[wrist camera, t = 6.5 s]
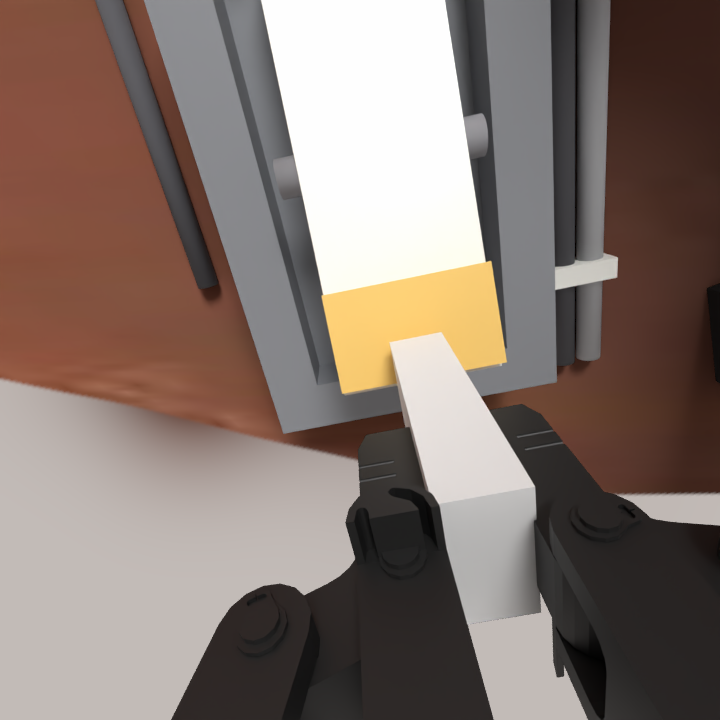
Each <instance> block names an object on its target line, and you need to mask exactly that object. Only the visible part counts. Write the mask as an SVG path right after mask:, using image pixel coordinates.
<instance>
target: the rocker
mask: <svg viewBox="0 0 720 720" xmlns="http://www.w3.org/2000/svg"><path fill="white" fill-rule="evenodd" d="M261 2H262V7H263V11H264V16H265V21H266V26H267V30H268V35H269V40H270V44H271V49H272V54H273V59H274V63H275V68H276V73H277V78H278V82H279V87H280V92H281V97H282V101H283V106H284V111H285V116H286V120H287V125H288V130H289V134H290V139H291V144H292V149H293V153H294V155H291V156H286V157H282V158H277V159H273V167H274V173H275V177H276V181H277V185H278V188H279V191H280V194H281V196H282V198H283V200H286V199H291V198H295V197H300V196H303V201H304V206H305V210H306V215H307V220H308V225H309V229H310V234H311V239H312V243H313V248H314V253H315V258H316V262H317V267H318V272H319V277H320V281H321V286H322V291H323V295H322V301H323V306H324V311H325V315H326V320H327V325H328V329H329V334H330V339H331V344H332V348H333V353H334V358H335V362H336V367H337V372H338V377H339V381H340V386H341V391H342V394H344V395H345V396H346V395H351V394H356V393H361V392H367V391H372V390H377V389H382V388H388V387H393V386H397V381H396V375H395V370H394V364H393V359H392V354H391V348H390V343H389V342H394V341H399V340H404V339H409V338H414V337H419V336H424V335H429V334H434V333H439V332H442V334H443V335H444V337H445V339H446V340H447V342H448V344H449V345H450V347H451V349H452V350H453V352H454V354H455V355H456V357H457V359H458V360H459V362H460V364H461V365H462V367H463V368H464V370H465V372H471V371H476V370H481V369H487V368H492V367H497V366H502V363H506V362H507V360H506V353H505V347H504V340H503V334H502V327H501V321H500V314H499V308H498V301H497V295H496V288H495V282H494V275H493V269H492V262H491V261H489V262H486V261H485V255H484V248H483V242H482V235H481V229H480V223H479V216H478V210H477V203H476V197H475V191H474V184H473V178H472V171H471V165H470V159H475V158H480V157H484V156H485V155H486V153H487V149H488V129H487V123H486V119H485V117H484V115H483V114H482V113H480V114H475V115H471V116H466V117H463V114H462V107H461V101H460V95H459V88H458V82H457V75H456V69H455V63H454V56H453V50H452V43H451V37H450V31H449V24H448V18H447V11H446V5H445V0H261Z"/></svg>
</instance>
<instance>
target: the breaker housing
mask: <svg viewBox="0 0 720 720" xmlns="http://www.w3.org/2000/svg"><path fill="white" fill-rule="evenodd" d="M144 2H145V5H146V8H147V11H148V14H149V17H150V21H151V24H152V27H153V30H154V33H155V36H156V39H157V42H158V45H159V48H160V52H161V55H162V58H163V61H164V64H165V67H166V70H167V73H168V76H169V79H170V83H171V86H172V89H173V92H174V95H175V98H176V101H177V104H178V107H179V110H180V114H181V117H182V120H183V123H184V126H185V129H186V132H187V135H188V138H189V142H190V145H191V148H192V151H193V154H194V157H195V160H196V163H197V166H198V169H199V173H200V176H201V179H202V182H203V185H204V188H205V191H206V194H207V197H208V200H209V204H210V207H211V210H212V213H213V216H214V219H215V222H216V225H217V228H218V231H219V235H220V238H221V241H222V244H223V247H224V250H225V253H226V256H227V259H228V262H229V266H230V269H231V272H232V275H233V278H234V281H235V284H236V287H237V290H238V294H239V297H240V300H241V303H242V306H243V309H244V312H245V315H246V318H247V321H248V325H249V328H250V331H251V334H252V337H253V340H254V343H255V346H256V349H257V352H258V356H259V359H260V362H261V365H262V368H263V371H264V374H265V377H266V380H267V383H268V387H269V390H270V393H271V396H272V399H273V402H274V405H275V408H276V411H277V415H278V418H279V421H280V424H281V427H282V430H283V433H284V434H285V433H290V432H295V431H300V430H306V429H311V428H316V427H322V426H327V425H332V424H338V423H343V422H348V421H353V420H359V419H364V418H369V417H375V416H380V415H385V414H391V413H396V412H401V411H402V408H401V402H400V397H399V391H398V386H393V387H388V388H382V389H377V390H372V391H367V392H361V393H356V394H351V395H346V396H345V395H344V394H342V391H341V386H340V381H339V377H338V372H337V367H336V362H335V358H334V353H333V348H332V344H331V339H330V334H329V329H328V325H327V320H326V315H325V311H324V306H323V301H322V295H323V291H322V286H321V281H320V277H319V272H318V267H317V262H316V258H315V253H314V248H313V243H312V239H311V234H310V229H309V225H308V220H307V215H306V210H305V206H304V201H303V196H300V197H295V198H291V199H286V200H283V198H282V196H281V194H280V191H279V188H278V185H277V181H276V177H275V173H274V167H273V159H277V158H282V157H286V156H291V155H294V153H293V149H292V144H291V139H290V134H289V130H288V125H287V120H286V116H285V111H284V106H283V101H282V97H281V92H280V87H279V82H278V78H277V73H276V68H275V63H274V59H273V54H272V49H271V44H270V40H269V35H268V30H267V26H266V21H265V16H264V11H263V7H262V2H261V0H144ZM445 5H446V11H447V18H448V24H449V31H450V37H451V43H452V50H453V56H454V63H455V69H456V75H457V82H458V88H459V95H460V101H461V107H462V114H463V117H466V116H471V115H475V114H480V113H482V114H483V115H484V117H485V119H486V123H487V129H488V149H487V153H486V155H485V156H484V157H480V158H475V159H470V165H471V171H472V178H473V184H474V191H475V197H476V203H477V210H478V216H479V223H480V229H481V235H482V242H483V248H484V255H485V261H486V262H489V261H491V262H492V269H493V275H494V282H495V288H496V295H497V301H498V308H499V314H500V321H501V327H502V334H503V340H504V347H505V353H506V360H507V362H506V363H502V366H497V367H492V368H487V369H481V370H476V371H471V372H466V373H467V375H468V377H469V378H470V380H471V382H472V383H473V385H474V387H475V388H476V390H477V392H478V393H479V395H480V396H486V395H491V394H496V393H502V392H507V391H512V390H518V389H523V388H528V387H534V386H539V385H544V384H549V383H555V382H557V364H556V303H555V243H554V183H553V123H552V63H551V3H550V0H445Z"/></svg>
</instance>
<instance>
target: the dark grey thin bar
mask: <svg viewBox="0 0 720 720" xmlns="http://www.w3.org/2000/svg"><path fill="white" fill-rule="evenodd" d="M95 1H96V4H97V7H98V10H99V12H100V15H101V18H102V21H103V24H104V26H105V29H106V32H107V35H108V37H109V40H110V43H111V46H112V49H113V51H114V54H115V57H116V60H117V63H118V65H119V68H120V71H121V74H122V76H123V79H124V82H125V85H126V88H127V90H128V93H129V96H130V99H131V102H132V104H133V107H134V110H135V113H136V115H137V118H138V121H139V124H140V127H141V129H142V132H143V135H144V138H145V141H146V143H147V146H148V149H149V152H150V154H151V157H152V160H153V163H154V166H155V168H156V171H157V174H158V177H159V180H160V182H161V185H162V188H163V191H164V193H165V196H166V199H167V202H168V205H169V207H170V210H171V213H172V216H173V219H174V221H175V224H176V227H177V230H178V232H179V235H180V238H181V241H182V244H183V246H184V249H185V252H186V255H187V257H188V260H189V263H190V266H191V269H192V271H193V274H194V277H195V280H196V283H197V285H198V288H199V289H203V288H208V287H212V286H214V285H217V284H218V280H217V277H216V274H215V271H214V268H213V265H212V263H211V260H210V257H209V254H208V251H207V248H206V245H205V242H204V239H203V236H202V233H201V230H200V227H199V224H198V221H197V218H196V215H195V212H194V209H193V206H192V203H191V200H190V197H189V195H188V192H187V189H186V186H185V183H184V180H183V177H182V174H181V171H180V168H179V165H178V162H177V159H176V156H175V153H174V150H173V147H172V144H171V141H170V138H169V135H168V132H167V130H166V127H165V124H164V121H163V118H162V115H161V112H160V109H159V106H158V103H157V100H156V97H155V94H154V91H153V88H152V85H151V82H150V79H149V76H148V73H147V70H146V67H145V64H144V62H143V59H142V56H141V53H140V50H139V47H138V44H137V41H136V38H135V35H134V32H133V29H132V26H131V23H130V20H129V17H128V14H127V11H126V8H125V5H124V2H123V0H95Z"/></svg>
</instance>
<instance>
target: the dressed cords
mask: <svg viewBox="0 0 720 720" xmlns="http://www.w3.org/2000/svg"><path fill="white" fill-rule="evenodd" d="M550 3H551V63H552V123H553V183H554V243H555V303H556V364H557V365H559V366H566V365H571V364H573V363H574V362H575V286H576V358H578V359H580V360H584V361H593V360H597V359H599V358H600V351H601V316H602V281H603V280H607V279H612V278H617V267H618V257H615V256H612V255H609V254H605V253H603V246H604V211H605V176H606V141H607V106H608V71H609V36H610V0H577V183H576V257H575V0H550Z"/></svg>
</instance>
